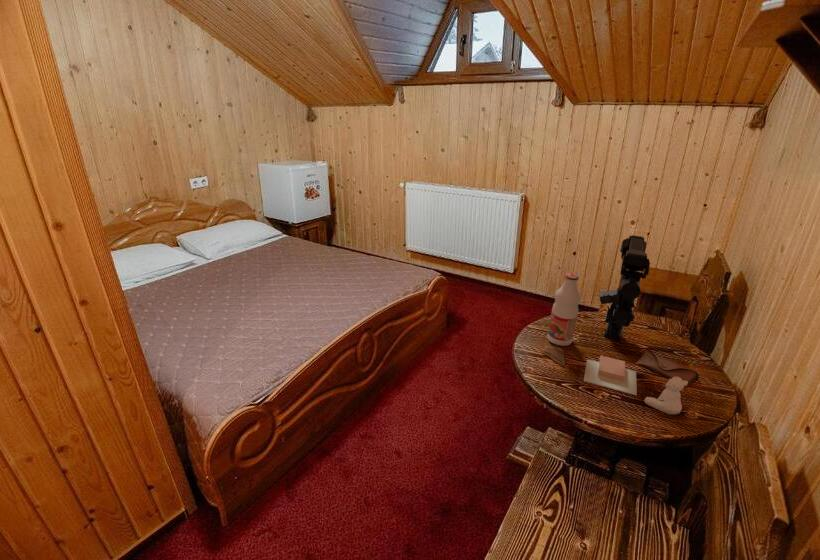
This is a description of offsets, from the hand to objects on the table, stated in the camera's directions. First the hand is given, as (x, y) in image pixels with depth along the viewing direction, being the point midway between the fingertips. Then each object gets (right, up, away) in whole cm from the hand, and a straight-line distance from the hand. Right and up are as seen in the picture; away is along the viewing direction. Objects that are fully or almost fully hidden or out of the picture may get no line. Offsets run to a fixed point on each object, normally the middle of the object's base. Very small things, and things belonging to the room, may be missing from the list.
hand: (618, 326), depth 147 cm
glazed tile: (-4, -12, -3) cm, 13 cm away
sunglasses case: (+14, -16, -5) cm, 22 cm away
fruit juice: (-17, -7, +13) cm, 23 cm away
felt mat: (-7, -16, -8) cm, 20 cm away
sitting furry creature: (+3, -23, -22) cm, 32 cm away
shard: (-21, -12, +3) cm, 24 cm away
